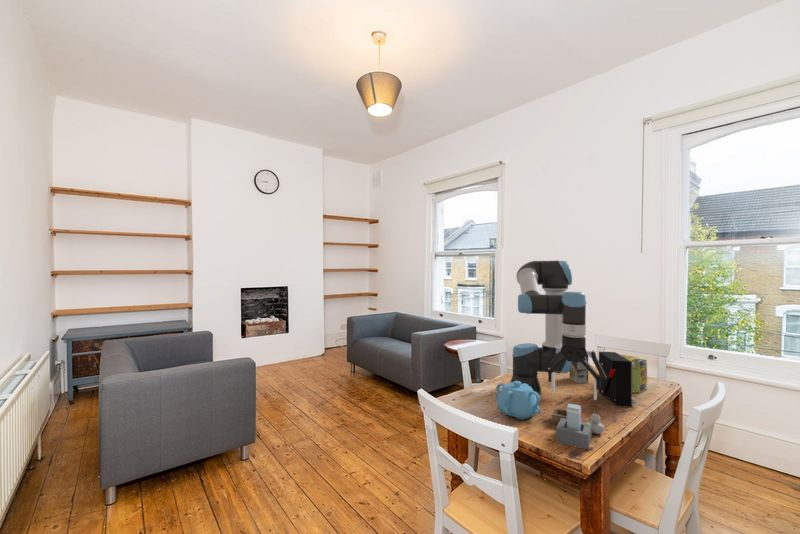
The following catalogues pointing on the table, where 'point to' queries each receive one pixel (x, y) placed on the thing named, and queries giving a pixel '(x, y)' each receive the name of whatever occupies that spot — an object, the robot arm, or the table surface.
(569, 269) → the robot arm
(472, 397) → the table surface
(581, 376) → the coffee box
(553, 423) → the holster
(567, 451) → the table surface
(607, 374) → the electrical component
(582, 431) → the port
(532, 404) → the decorative pot
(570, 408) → the plug
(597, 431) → the rubber duck
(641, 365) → the protein box
